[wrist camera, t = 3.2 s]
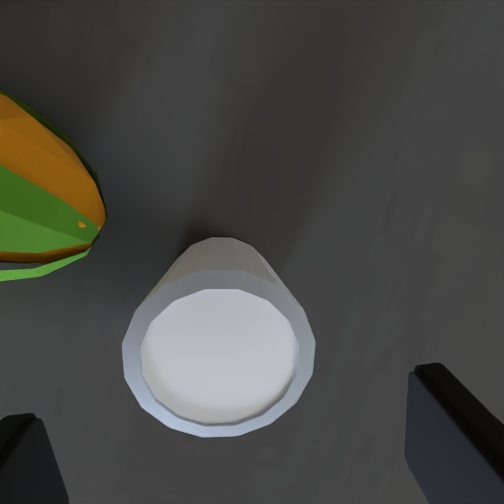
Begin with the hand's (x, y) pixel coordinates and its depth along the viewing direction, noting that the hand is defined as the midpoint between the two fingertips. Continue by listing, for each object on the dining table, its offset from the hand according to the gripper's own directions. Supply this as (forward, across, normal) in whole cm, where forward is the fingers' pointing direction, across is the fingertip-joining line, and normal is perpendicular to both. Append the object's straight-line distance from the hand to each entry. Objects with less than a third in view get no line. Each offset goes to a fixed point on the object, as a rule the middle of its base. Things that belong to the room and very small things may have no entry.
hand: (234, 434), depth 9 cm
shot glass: (+11, 0, 0) cm, 11 cm away
